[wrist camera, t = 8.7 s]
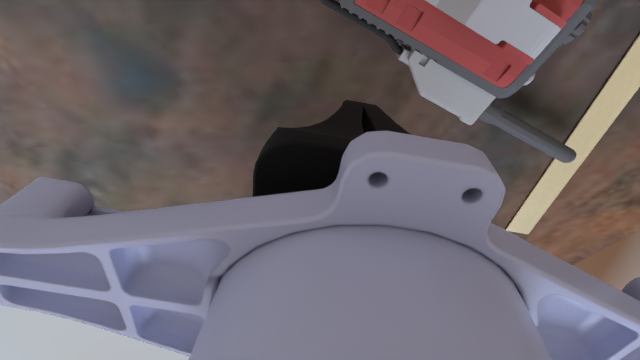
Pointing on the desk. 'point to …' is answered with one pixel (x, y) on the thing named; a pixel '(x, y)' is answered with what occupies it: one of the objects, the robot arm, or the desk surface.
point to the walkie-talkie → (476, 51)
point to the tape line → (582, 139)
